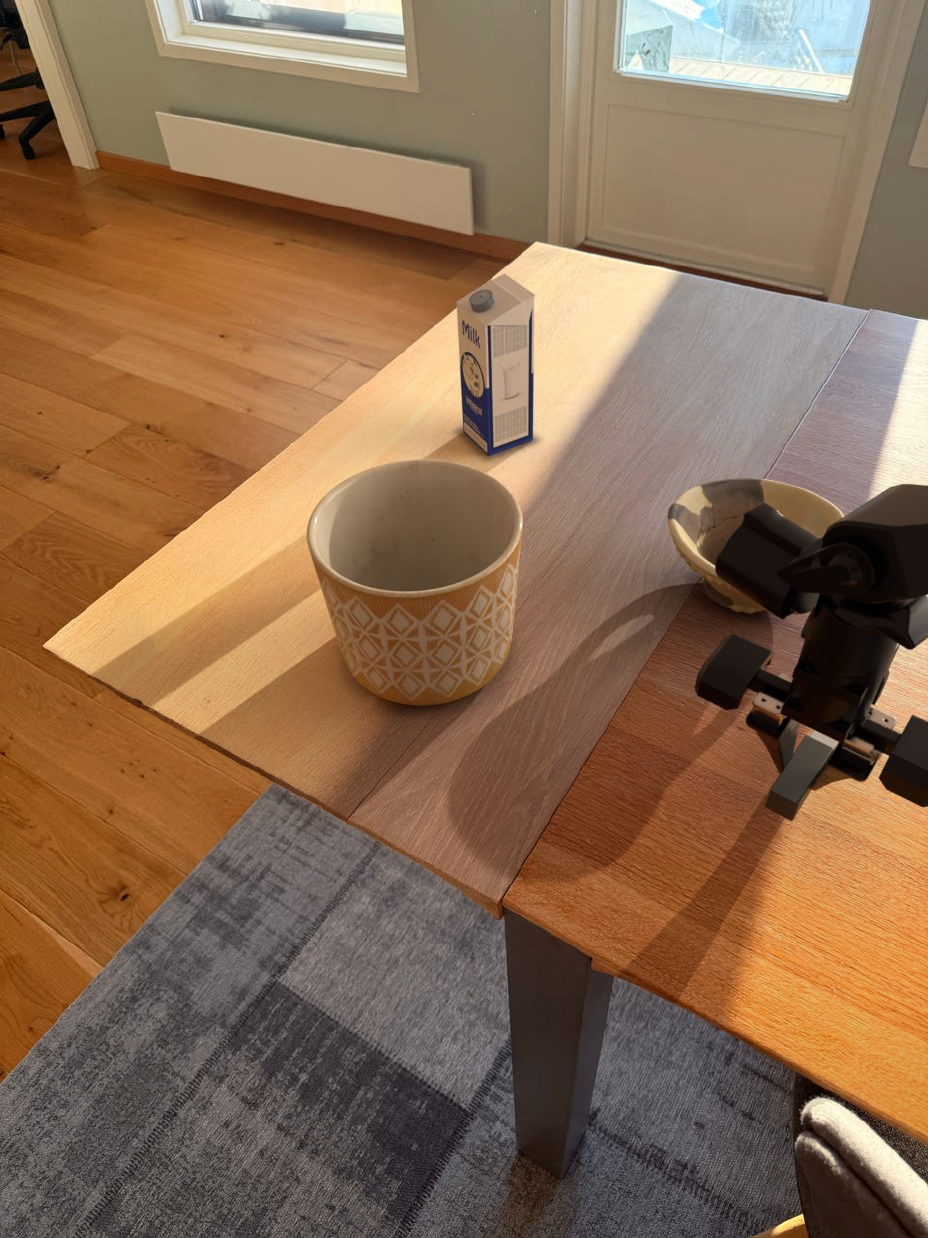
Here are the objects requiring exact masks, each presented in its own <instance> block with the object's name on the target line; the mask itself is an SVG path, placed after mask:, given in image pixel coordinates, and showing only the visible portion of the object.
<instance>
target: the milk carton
mask: <svg viewBox="0 0 928 1238" xmlns="http://www.w3.org/2000/svg"><path fill="white" fill-rule="evenodd" d="M535 296H536V294H535V293H533V291H531V290H529V289H528V288H526V287H525V286H524V285H522V284H520V283H519V282H518V281H516V280H515V279H513V278H512V277H510V275H508V274H506V273H502V274H501V275H498V276H497V277H494V278H493V279H490V280H488V281H486V282H485V283H483V284H482V285H480V286H478V287H477V288H476V289H474V290H473V291H471V292H469V293H468V294H466V295H465V296H463V297H462V298H460V299H459V300H457V301H455V303H456V317H457V318H456V319H457V335H458V337H457V338H458V356H459V359H458V360H459V373H460V374H459V376H460V396H461V397H460V398H461V415H462V432H463V433H464V434H465V435H466V436H467V437H468V438H469V439H471V441H473V443H474V444H476V445H477V447H478V448H480V449H481V450H482V451H483V453H485V454H486V455H487V456H488V457H490V456H493V455H496V454H499V453H501V452H504V451H506V450H510V449H512V448H515V447H519V446H520V445H523V444H526V443H529V442H532V441H533V440H534V390H535V389H534V388H535V387H534V385H535V383H534V382H535V381H534V380H535V379H534V376H535V298H536V297H535Z"/></svg>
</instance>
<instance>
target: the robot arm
mask: <svg viewBox="0 0 928 1238" xmlns="http://www.w3.org/2000/svg"><path fill="white" fill-rule="evenodd" d="M715 571H716V574H717V576H718V577H719V578H721V579H722V580H724V581H725V582H727V583H728V584H730V585H731V586H732V587H734V588H735V589H737V590H738V591H740V592H741V593H743V594H744V595H746V596H747V597H749V598H750V599H752V600H753V601H755V602H756V603H758V604H759V605H761V606H762V607H764V608H765V609H767V610H768V611H767V612H770V613H771V614H772V615H774V616H776V618H779V619H781V620H783V621H784V620H785V619H786V618H787V617H788V616H791V615H793V614H792V613H794V612H797V613H798V614H797V615H805V614H808V613H807V612H808V611H810V610H811V609H812V610H811V612H809V614H808V616H807V617H806V620H805V622H804V625H803V627H802V630H801V632H800V638H801V639H803V640H804V641H803V644H802V647H801V650H800V653H799V657H798V659H797V662H796V665H795V667H794V668H793V672H792V675H789V674H786V673H784V672H780V673H778V674H777V675H776V674H774V673H771V672H769V671H767V670H766V669H765V670H764V668H766V667H768V666H771V664H772V662H773V660H774V657H775V654H776V652H775V651H773V650H771V649H769V648H766V647H764V646H762V645H760V644H758V643H756V642H753V641H751V640H749V639H747V638H745V637H742V636H741V635H738V634H735V633H731V634H728V635H726V636H724V637H723V638H722V639H721V641H720V642H719V643H718V645H717V646H716V647H715V649H714V650H713V651H712V652H711V653H710V654H709V656H708V657H707V659H705V661H704V663H703V664H701V667H700V669H699V671H698V672H697V676H696V680H695V685H694V691H695V693H696V696H697V697H699V698H701V699H703V700H705V701H707V702H709V703H711V704H713V705H714V706H717V707H719V708H721V709H723V710H726V711H731V710H733V711H734V710H738V709H739V708H740V706H741V705H742V703H743V699H744V696H746V695H745V694H746V693H747V692H748V691H749V690H750V691H752V692H754V693H756V694H755V696H754V698H753V699H752V702H751V705H752V707H751V708H752V709H751V710H750V711H749V713H748V714H747V715H746V717H745V724H746V727H748V728H750V729H751V730H753V731H754V732H755V733H756V734H757V736H758V737H759V739H760V741H761V742H762V743H763V746H764V747H765V748H766V750H767V752H768V754H769V756H770V758H771V760H772V762H773V764H774V766H775V768H776V770H777V772H778V773H779V775H780V774H781V772H782V771H783V769H784V768H785V767H786V765H787V764H788V762H789V760H790V759H791V757H792V756H793V754H794V752H795V747H796V743H797V742H796V741H797V737H798V732H799V729H800V728H799V726H800V725H802V726H805V727H807V728H809V729H811V730H815V731H817V732H819V733H821V734H823V735H825V736H827V737H829V738H832V739H834V740H836V741H838V743H837V745H836V746H835V747H834V749H833V750H832V752H831V753H830V755H829V756H828V758H827V759H826V761H825V762H824V764H823V765H822V767H821V768H820V770H819V771H818V773H817V775H816V776H815V778H814V780H813V781H812V783H811V791H813V792H816V791H818V790H820V789H822V788H824V787H826V786H828V785H831V784H832V783H836V782H841V781H844V780H849V779H850V780H851V779H852V780H854V781H856V782H858V783H864V782H867V780H868V779H869V777H870V775H871V774H872V772H873V770H874V769H875V767H876V765H877V763H878V761H879V760H881V758H882V756H883V754H884V755H886V756H888V758H887V760H886V762H885V763H884V766H883V768H881V769H882V770H881V771H880V774H879V776H878V779H879V781H880V783H881V784H882V785H883V787H884V788H885V790H886V791H888V792H889V793H892V794H893V795H895V796H898V797H900V798H903V799H904V800H907V801H909V802H910V803H912V804H914V805H917V806H918V807H920V808H928V720H925V719H924V718H921V717H920V716H917V715H914V714H911V716H910V718H909V720H908V721H907V723H906V725H905V727H904V729H903V730H902V732H899V731H896V730H895V729H894V728H895V726H896V724H897V722H898V718H897V717H895V716H893V715H891V714H889V713H887V712H884V711H883V710H881V709H878V708H876V707H874V706H876V704H877V702H878V700H879V699H880V697H881V695H882V693H883V690H884V689H885V686H886V684H887V682H888V679H889V677H890V667H891V666H892V663H893V661H894V659H895V657H896V655H897V652H898V651H899V648H900V646H901V647H903V648H904V649H906V650H908V651H912V650H914V649H916V648H917V647H918V646H920V645H921V644H922V643H923V642H924V641H925V640H927V639H928V485H924V484H916V483H915V484H914V483H900V484H896V485H893V486H889V487H888V488H886V489H885V490H883V491H882V492H880V493H879V494H877V495H876V496H874V497H872V498H871V499H870V500H868V501H866V502H865V503H863V504H862V505H860V506H858V507H857V508H855V509H853V510H852V511H851V512H849V513H848V514H846V515H844V517H843V518H841V519H840V520H838V521H837V522H835V523H834V524H832V525H830V526H829V527H828V528H827V531H826V532H825V534H824V536H823V537H822V538H819V537H818V536H816V535H814V534H813V533H811V532H809V531H808V530H806V529H804V528H803V527H801V526H799V525H797V524H796V523H794V522H792V521H791V520H789V519H787V518H786V517H784V516H783V515H782V514H781V513H780V512H779V511H777V510H776V509H775V508H773V507H771V506H770V505H768V504H766V503H765V502H763V503H761V504H759V505H757V506H756V507H754V508H752V509H751V510H749V511H747V512H746V513H744V517H743V522H742V524H741V525H740V526H739V527H738V529H737V530H736V531H735V532H734V533H733V534H732V536H731V537H730V539H729V540H728V541H727V543H726V545H725V547H724V548H723V550H722V552H721V553H720V554H719V555H718V556H717V559H716V564H715ZM872 705H873V706H872Z"/></svg>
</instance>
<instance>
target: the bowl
mask: <svg viewBox="0 0 928 1238" xmlns="http://www.w3.org/2000/svg"><path fill="white" fill-rule="evenodd" d="M763 502H765V503H766V504H768V505H770V506H771V507H773V508H775V509H776V510H777V511H779V512H780V513H781V514H782V515H783V516H784V517H786V518H787V519H789V520H791V521H792V522H794V523H796V524H797V525H799V526H801V527H803V528H804V529H806V530H808V531H809V532H811V533H813V534H814V535H816V536H818V537H819V538H822V537H823V536H824V534H825V532H826V531H827V528H828V527H829V526H830V525H832V524H834V523H835V522H837V521H838V520H840V519H841V518H843V517H844V516H845V515H844V513H843V512H842V511H841V510H840V509H839V508H838V507H837V506H836V505H835V504H833V503H832V502H831V501H829V500H828V499H826V498H824V497H823V496H821V495H819V494H817V493H815V492H814V491H810V490H808V489H806V488H803V487H800V486H797V485H793V484H789V483H785V482H781V481H777V480H773V479H766V478H750V477H749V478H748V477H743V478H742V477H741V478H739V477H738V478H724V479H716V480H715V479H714V480H711V481H708V482H704V483H701V484H698V485H696V486H695V487H691V488H690V489H688V490H686V491H685V492H683V493H682V494H681V495H679V497H677V498H676V500H675V501H673V503H672V504H671V505H670V507H669V508H668V512H667V527H668V529H669V530H668V531H669V533H670V537H671V538H672V541H673V544H674V545H675V549H676V551H677V552H678V553H679V556H680V557H681V558H682V559H683V560H684V563H686V564H687V565H688V566H689V568H691V570H693V571H694V572H695V573H696V574H698V575H699V576H700V578H702V581H703V582H702V583H703V584H702V586H703V588H704V591H705V593H706V595H707V596H708V597H709V599H711V600H712V601H713V602H715V603H716V604H718V605H720V606H721V607H723V608H727V609H730V610H731V611H734V612H736V613H745V614H753V613H760V612H762V611H763V612H769V611H768V610H767V609H765V608H764V607H762V606H761V605H759V604H758V603H756V602H755V601H753V600H752V599H750V598H749V597H747V596H746V595H744V594H743V593H741V592H740V591H738V590H737V589H735V588H734V587H732V586H731V585H730V584H728V583H727V582H725V581H724V580H722V579H721V578H719V577H718V576H717V574H716V571H715V564H716V559H717V556H718V555H719V554H720V553H721V552H722V550H723V548H724V547H725V545H726V543H727V541H728V540H729V539H730V537H731V536H732V534H733V533H734V532H735V531H736V530H737V529H738V527H739V526H740V525H741V524H742V522H743V517H744V513H746V512H747V511H749V510H751V509H752V508H754V507H756V506H757V505H759V504H761V503H763ZM811 610H812V609H811ZM811 610H810V611H808V612H807V613H806V614H808V613H809V614H810V612H811ZM791 615H799V614H798V613H797V612H794V613H792V614H791Z"/></svg>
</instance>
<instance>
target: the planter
mask: <svg viewBox="0 0 928 1238" xmlns="http://www.w3.org/2000/svg"><path fill="white" fill-rule="evenodd" d="M523 520H524V519H523V513H522V509H521V506H520V504H519V501H518V500H517V498H516V497H515V496H514V494H513V493H512V492H511V490H510V489H509V488H508V487H507V486H505V484H503V483H502V482H501V481H500V480H499V479H497V478H495V477H494V476H492V475H490V474H489V473H487V472H485V471H483V470H481V469H479V468H476V467H473V466H470V465H467V464H463V463H458V462H456V461H455V462H454V461H449V460H440V459H408V460H400V461H394V462H389V463H385V464H380V465H377V466H374V467H371V468H368V469H365V470H363V471H360V472H358V473H356V474H354V475H352V476H349V477H348V478H346V479H344V480H343V481H341V482H339V483H338V484H337V485H336V486H334V487H333V488H332V489H331V490H329V491H328V492H327V493H326V494H325V495H324V496H323V497H322V498H321V499H320V500H319V501H318V503H317V504H316V506H315V508H314V509H313V510H312V513H311V515H310V517H309V519H308V523H307V527H306V543H307V547H308V551H309V553H310V557H311V560H312V563H313V567H314V570H315V573H316V576H317V579H318V582H319V585H320V589H321V592H322V596H323V599H324V602H325V605H326V608H327V611H328V614H329V618H330V621H331V625H332V627H333V628H332V629H333V630H334V633H335V636H336V640H337V643H338V647H339V650H340V653H341V657H342V659H343V661H344V664H345V666H346V668H347V669H348V671H349V673H350V674H351V676H352V677H353V678H354V679H355V681H356V682H358V683H359V684H360V685H361V686H362V687H363V688H365V689H366V690H367V691H369V692H370V693H372V694H374V695H375V696H377V697H380V698H382V699H384V700H387V701H390V702H393V703H398V704H402V705H407V706H419V707H420V706H436V705H443V704H447V703H451V702H455V701H457V700H460V699H463V698H465V697H467V696H470V695H472V694H473V693H475V692H477V691H478V690H480V689H481V688H484V686H486V685H487V684H488V683H489V682H490V681H491V680H492V679H494V677H496V675H497V674H498V673H499V672H500V670H502V668H503V666H504V665H505V662H506V661H507V659H508V656H509V654H510V650H511V647H512V641H513V631H514V621H515V611H516V600H517V588H518V581H519V580H518V579H519V570H520V569H519V568H520V567H519V566H520V556H521V548H522V547H521V546H522V535H523V527H524V526H523V525H524V521H523Z"/></svg>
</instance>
